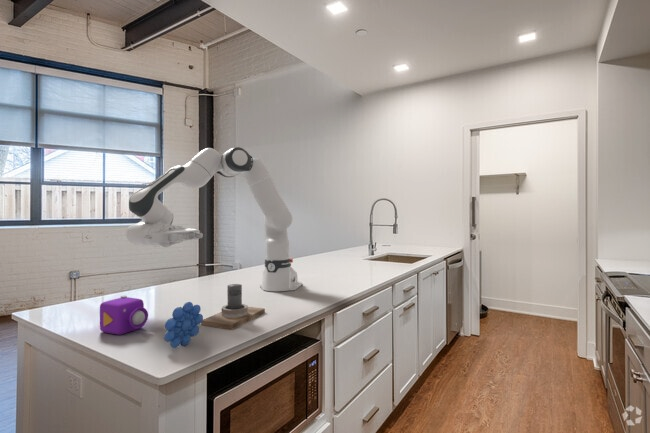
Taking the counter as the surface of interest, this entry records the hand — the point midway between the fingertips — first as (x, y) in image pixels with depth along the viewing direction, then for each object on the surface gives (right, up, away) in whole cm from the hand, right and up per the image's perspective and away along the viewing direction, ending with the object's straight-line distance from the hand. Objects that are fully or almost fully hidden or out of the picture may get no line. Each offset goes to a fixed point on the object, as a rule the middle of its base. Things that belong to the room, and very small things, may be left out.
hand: (192, 236), depth 132 cm
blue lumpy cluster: (+8, -29, -31) cm, 43 cm away
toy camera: (-14, -29, -19) cm, 37 cm away
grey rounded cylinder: (+17, -27, -6) cm, 32 cm away
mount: (+17, -28, -6) cm, 33 cm away
